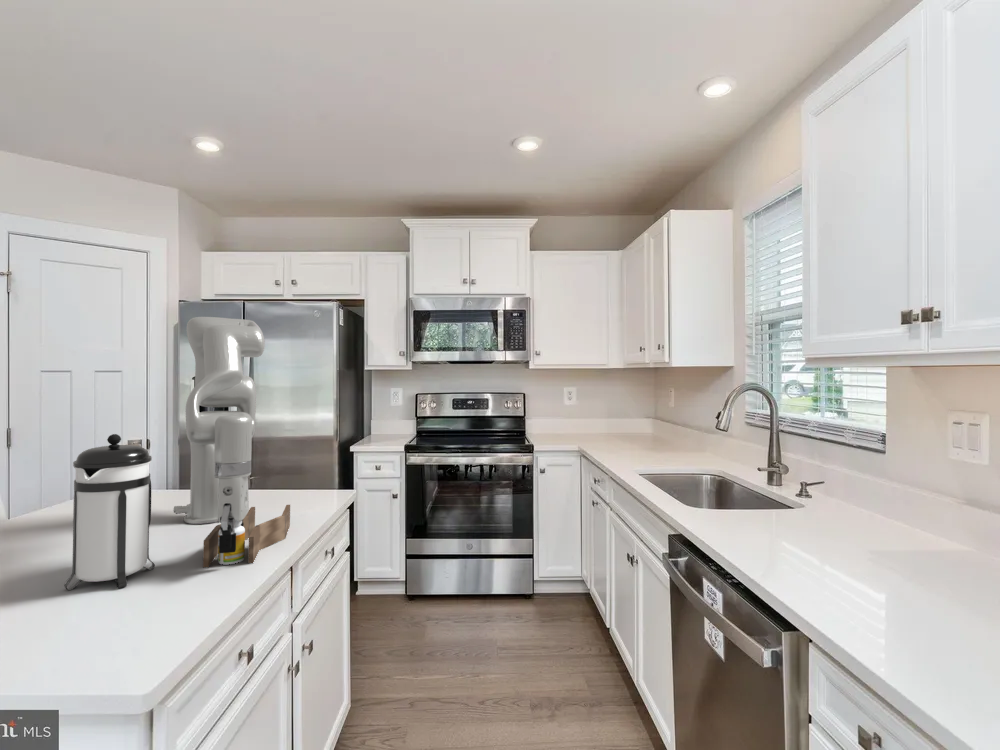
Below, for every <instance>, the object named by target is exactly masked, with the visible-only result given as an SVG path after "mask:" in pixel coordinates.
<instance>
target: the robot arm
mask: <svg viewBox="0 0 1000 750" xmlns="http://www.w3.org/2000/svg"><path fill="white" fill-rule="evenodd" d="M186 336H187V340H188V343H189V345H190V348H191V350H192V353H193V356H194V362H195V367H194V368H195V369H194V371H195V372H194V374H195V375H194V387H193V388H192V390H191V391H190V393H189V395H188V397H187V399H186V403H185V430H186V437H187V440H188V441H189V445H190V501H189V504H186V505H175V506H173V510H172V511H173V513H174V514H177V515H178V514H185V515H184V517H183V522H184V523H186V524H190V525H191V524H192V525H193V524H194V525H200V524H201V525H202V524H213V523H218V522H219V524H221V527H220V535H219V553H230V552H235V551H236V533H235V525H236V520H238V521H239V522H241V521H242V524H241V526H244V522H243V519H244V518H245V516H246V515H247V513H248V511H249V509H250V507H249V506H250V500H249V479H248V477H249V476H252V451H253V450H252V449H253V448H252V442H253V441H252V440H253V437H254V435H255V432H256V430H255V429H256V410H257V409H256V408H257V406H256V405H257V387H256V383H255V381H254V380H253V379H254V378H252V377H251V376H248V375H244V371H243V364H242V363H243V362H242V358H258V357H261V356H262V355H263V353H264V351H265V347H266V344H265V336H264V333H263V330H262V329H261V328H260V326H259V325H258V324H257V323H256V322H255V321H254V320H252V319H251V320H250V319H243V318H242V319H241V318H229V317H217V316H216V317H214V316H197V317H192V318H190V319H189V320H188V321H187V324H186ZM200 406H201V407H204V408H228V407H229V408H232V407H233V408H234V407H235V408H237V409H238V410H211V411H208V410H207V411H201V412H200ZM229 518H233V520H229ZM230 524H232V528H231V525H230Z"/></svg>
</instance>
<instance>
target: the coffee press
mask: <svg viewBox="0 0 1000 750" xmlns="http://www.w3.org/2000/svg"><path fill="white" fill-rule="evenodd" d="M106 441H107V443H108V444H109V445H104V446H103V445H102V446H98V447H97V446H96V447H92V448H89V449H86V450H83V451H82V452H80V454H78V456H77V457H76V460H74V461H73V462H72V466H73V468H74V469H75V479H74V480H73V511H72V512H73V514H72V515H73V521H72V522H73V523H72V524H73V525H72V566H71V567H72V572H71V575H70V576H69V578H68V579H67V580H66V581H65V583H64V584H63V585H64V586H63V587H64V588H65V590H67V591H72V590H74V589H76V588H77V586H79V584H80V583H83V582H104V581H106V582H107V581H112V580H114V582H115V585H116V588H118V589H122V588H126V587H127V586H128V585H127V584H128V581H127V576H130V575H133V574H135V573H137V572H139V571H140V570H142V569H143V568H144V569H145V570H148V571H152V570H154V568H155V566H156V565H155V562H154V561H152V560H151V559H150V555H149V553H150V550H149V549H150V543H149V541H150V540H149V539H150V525H151V520H152V481H151V480H152V479H151V473H150V463H151V462H152V458H153V457H152V455H150V454H149V452H148V450H147V449H146V448H145V447H142V446H139V445H134V444H133V445H132V444H131V445H130V444H120V442H121V441H122V438H121V436H120V434H117V433H114V434H113V433H112V434H111V435H108V437H107V439H106ZM148 561H149V562H150V563H151V566H150V567H146V565H147V563H148ZM74 577H75V578H76V579H78V580H77V581H76V582H75V583H74V584H72V586H70V587H68V585H70V582H71V581H72V580H73V578H74Z"/></svg>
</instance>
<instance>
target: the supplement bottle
mask: <svg viewBox="0 0 1000 750" xmlns="http://www.w3.org/2000/svg"><path fill="white" fill-rule="evenodd" d="M229 520H233V518H229ZM241 524H242V521H241V522H239V521H238V520H236V525H235V533H236V551H235V552H230V553H219V535H220V530H219V533H218V554H217V563H218V564H220V565H222V564H223V565H224V566H225V565H226V566H229V564H230V565H235V563H236V564H238V562H239V563H241V562H243V561H244V560H245V558H246V552H245V551H246V550H245V549H246V547H245V546H246V540H245V528H244V527H243V526H241ZM230 525H231V528H232V524H230Z"/></svg>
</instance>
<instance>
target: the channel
mask: <svg viewBox="0 0 1000 750" xmlns="http://www.w3.org/2000/svg"><path fill="white" fill-rule="evenodd" d="M243 522H244V526H243V527H244V528H245V541H246V540H248V562H247V563H252V564H254V563H253V562H255V561H256V559H257V557H258V555H257V554H259V553H258V552H260V551H262V550H264V549H266V548H268V547H270V546H272V545H275V544H277V543H278V541H279V542H281V541H282V540H286V538H287V535H288V533H287V532H289V530H288V529H290V526H291V504H286V505H285V506H284V510H283V512H282V514H281V515H280V516H277V517H275V518H274V517H273V518H272V519H269V520H266V521H264V522H262V523H260V524H259V523H258V524H256V506H251V507H249V511H248V513H247V515H246V516H245V518H244V519H243ZM220 527H221V523H219V524H217V525H215V527H214V528H213V529H212V530H211V531H210V533H208V535H207V536H206V537H205V538H204V539H203V549H202V550H203V551H202V552H203V557H202V558H203V559H202V561H203V562H202V568H203V569H205V568H204V567H208V568H209V567H210V566H211V565H212V563H213V562H214V560H215V559H214V558H217V557H218V533H219V530H220ZM248 538H249V539H248ZM274 543H275V544H274ZM261 549H262V550H261ZM259 550H260V551H259ZM256 556H257V557H256ZM255 558H256V559H255ZM254 560H255V561H254ZM212 561H213V562H212ZM209 565H210V566H209Z"/></svg>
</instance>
